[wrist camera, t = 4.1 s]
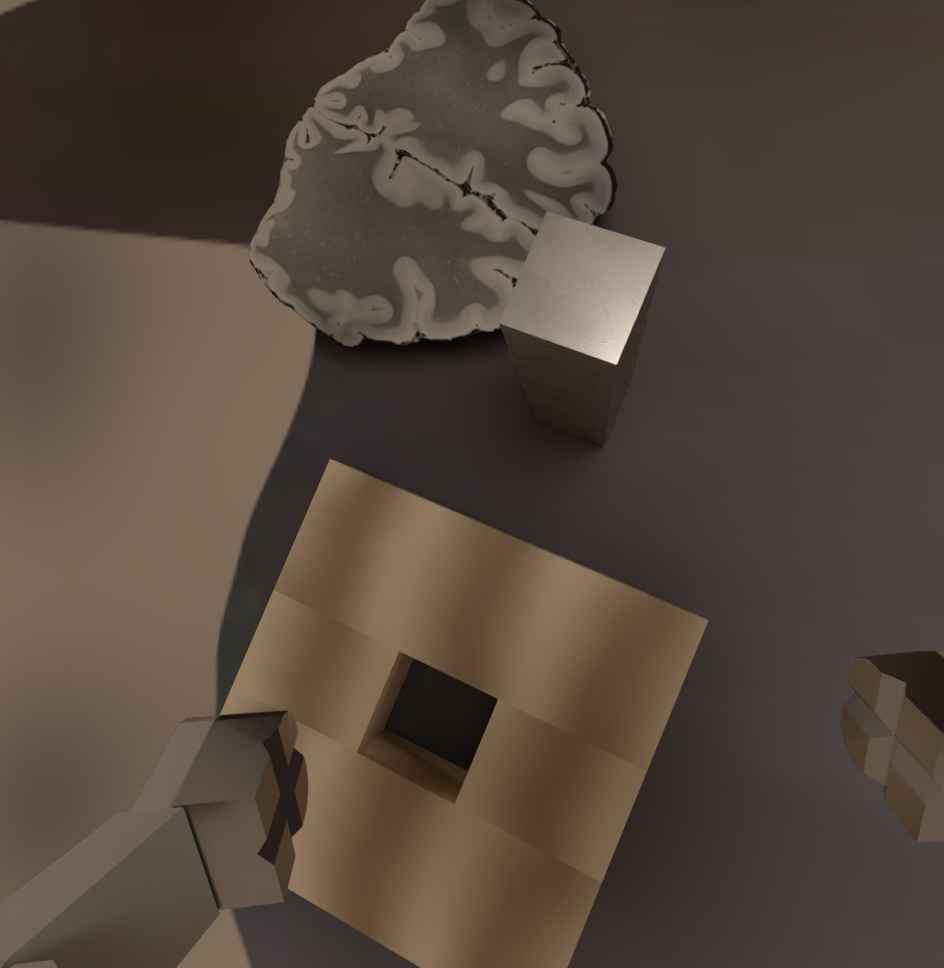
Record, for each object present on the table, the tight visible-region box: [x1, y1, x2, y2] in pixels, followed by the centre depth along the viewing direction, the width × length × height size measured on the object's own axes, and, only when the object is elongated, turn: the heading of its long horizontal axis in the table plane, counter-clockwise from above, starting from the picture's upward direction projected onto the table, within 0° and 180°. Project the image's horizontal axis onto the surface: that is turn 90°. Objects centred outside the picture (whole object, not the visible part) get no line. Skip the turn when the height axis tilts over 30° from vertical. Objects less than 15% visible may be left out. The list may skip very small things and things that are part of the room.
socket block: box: [220, 459, 708, 968], centre depth 29 cm, size 18×18×4 cm
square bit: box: [499, 211, 665, 447], centre depth 25 cm, size 4×4×14 cm
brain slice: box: [249, 0, 617, 347], centre depth 33 cm, size 20×17×3 cm
